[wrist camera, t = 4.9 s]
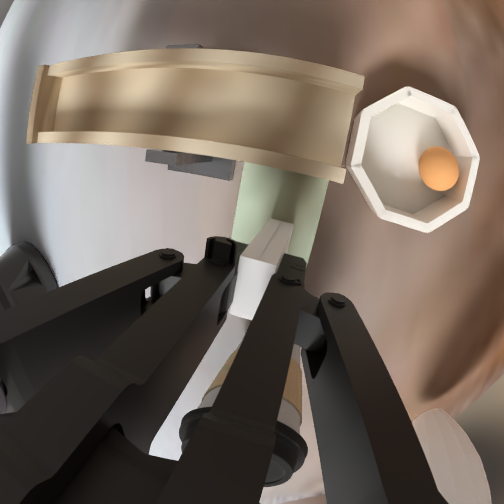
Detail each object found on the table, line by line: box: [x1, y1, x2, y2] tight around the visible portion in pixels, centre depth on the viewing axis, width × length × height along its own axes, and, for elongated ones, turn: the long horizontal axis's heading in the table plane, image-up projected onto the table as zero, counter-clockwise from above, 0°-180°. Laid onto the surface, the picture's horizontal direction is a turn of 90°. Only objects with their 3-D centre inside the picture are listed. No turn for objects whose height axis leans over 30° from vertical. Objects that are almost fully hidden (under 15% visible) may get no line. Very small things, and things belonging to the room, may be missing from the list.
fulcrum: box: [145, 44, 236, 181], centre depth 20 cm, size 14×11×7 cm
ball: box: [418, 146, 459, 191], centre depth 17 cm, size 4×4×4 cm
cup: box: [412, 408, 491, 504], centre depth 18 cm, size 10×10×22 cm
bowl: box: [345, 86, 480, 233], centre depth 18 cm, size 10×10×4 cm
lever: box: [26, 48, 365, 267], centre depth 16 cm, size 22×13×3 cm, turn 79°
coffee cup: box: [179, 336, 308, 487], centre depth 22 cm, size 9×9×15 cm
